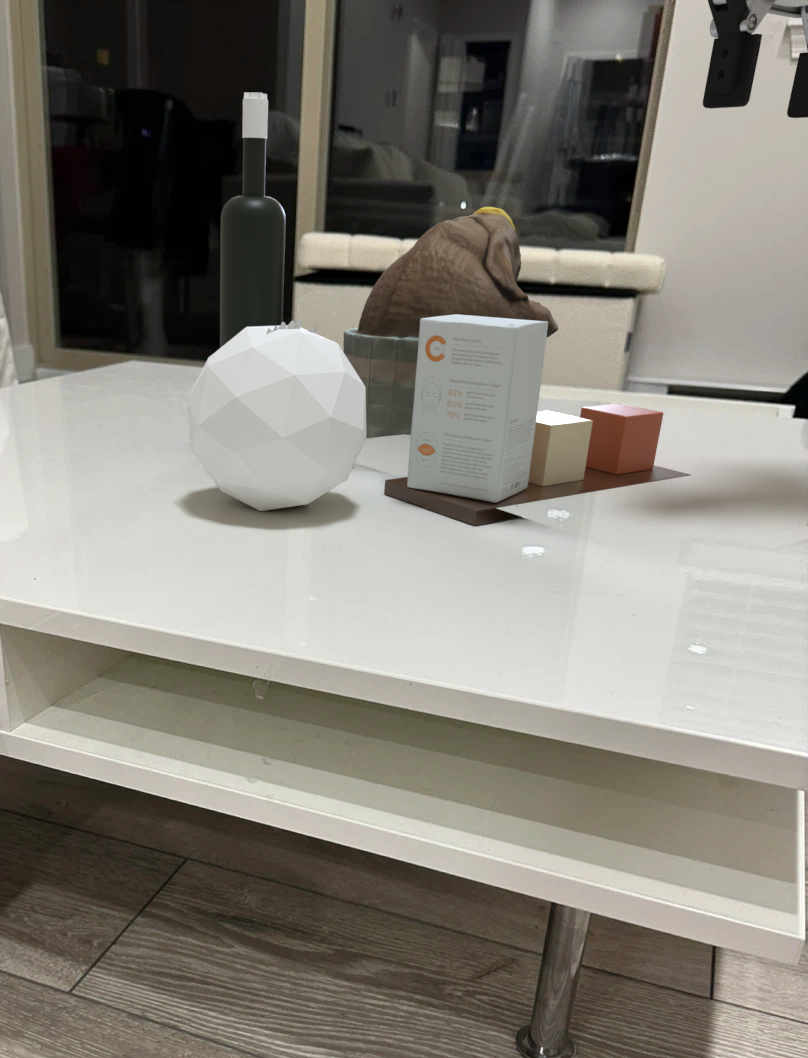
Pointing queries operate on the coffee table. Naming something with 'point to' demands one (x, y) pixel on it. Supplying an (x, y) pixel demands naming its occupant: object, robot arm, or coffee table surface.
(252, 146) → the wine bottle
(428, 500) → the dark brown board
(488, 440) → the small box
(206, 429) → the geodesic sphere
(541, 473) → the beige block
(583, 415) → the terracotta cube
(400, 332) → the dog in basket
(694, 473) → the coffee table surface
